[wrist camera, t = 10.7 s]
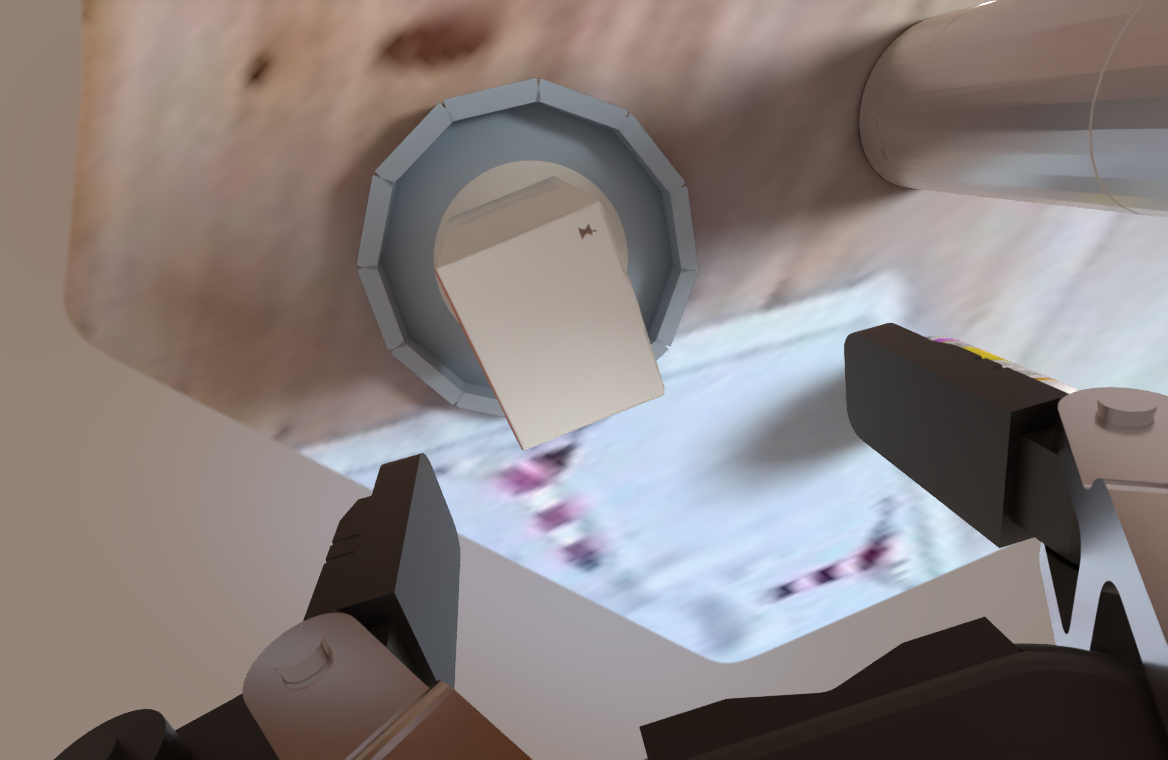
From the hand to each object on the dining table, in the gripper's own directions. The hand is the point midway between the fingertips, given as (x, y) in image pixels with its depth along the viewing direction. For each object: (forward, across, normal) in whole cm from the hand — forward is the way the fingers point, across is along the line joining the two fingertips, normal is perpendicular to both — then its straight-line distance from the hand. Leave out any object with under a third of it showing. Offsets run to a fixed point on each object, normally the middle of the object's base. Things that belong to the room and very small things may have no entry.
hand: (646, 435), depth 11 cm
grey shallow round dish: (+25, 0, +1) cm, 25 cm away
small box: (+24, +1, +1) cm, 24 cm away
